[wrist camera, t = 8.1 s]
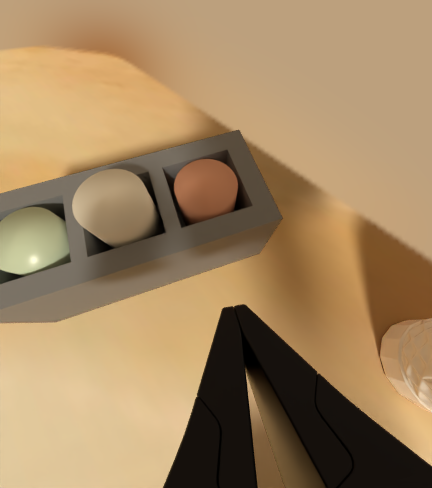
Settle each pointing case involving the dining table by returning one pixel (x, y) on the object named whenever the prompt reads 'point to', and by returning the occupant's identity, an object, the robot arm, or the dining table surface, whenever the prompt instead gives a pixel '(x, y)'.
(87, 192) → the cream rounded egg shape
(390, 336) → the white cup
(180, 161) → the tray
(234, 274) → the dining table surface
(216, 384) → the robot arm
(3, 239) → the sage button
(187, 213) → the terracotta button
